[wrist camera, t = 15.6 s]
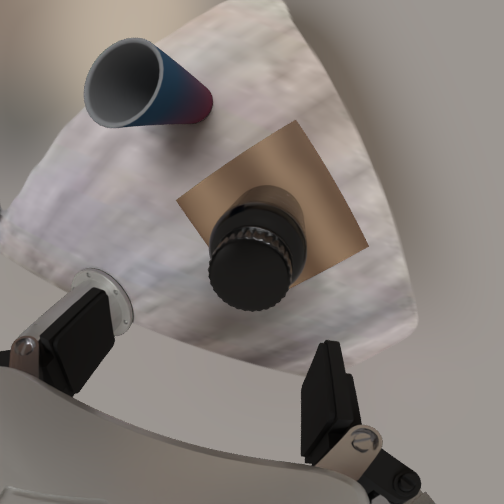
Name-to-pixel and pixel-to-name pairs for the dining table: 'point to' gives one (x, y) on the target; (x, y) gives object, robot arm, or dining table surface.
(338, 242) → the walnut block
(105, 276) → the robot arm
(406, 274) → the dining table surface
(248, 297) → the supplement bottle
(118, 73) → the cup
